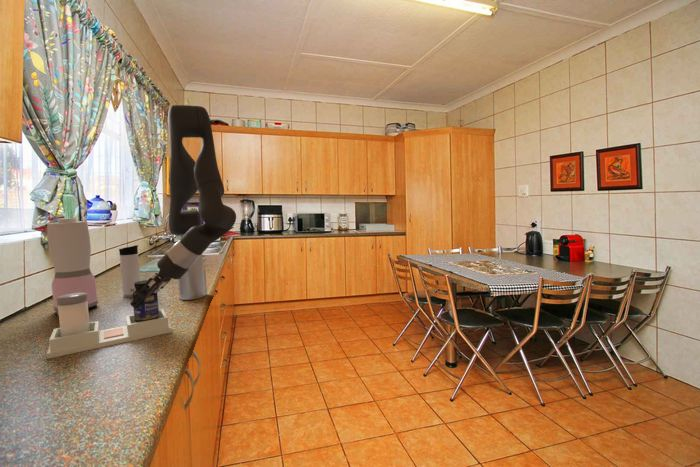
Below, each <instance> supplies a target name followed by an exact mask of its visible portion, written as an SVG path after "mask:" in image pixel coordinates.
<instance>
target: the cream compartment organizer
mask: <svg viewBox="0 0 700 467" xmlns="http://www.w3.org/2000/svg"><path fill="white" fill-rule="evenodd" d="M56 300H57V305H58V313H59V315H58V318H59V319H58V320H59V327H56V328H53V330H52V333H51V335H50V337H49V340H48V341H49V346H48V349H47V352H46V355H45V356H46V359H51V358H52V359H53V358H58V357H62V356H66V355H72V354H75V353H81V352H85V351H89V350H94V349H99V348H104V347H109V346H113V345H119V344H123V343H127V342H132V341H136V340H141V339H147V338H152V337H156V336H160V335H164V334H165V335H166V334H169V333H170V334H171V333H172V332H173V328H172V326H171V324H170V322H169V317H168V315H167V314H166V312H165V310H164V309H163V308H162V309H159V318H158V319H153V320H148V321H142V322H135V319H134V314H130V315H129V314H128V315H126V316H125V320H126V325H122V326H117V327H112V328H107V329H101V330H100V321H99V320H97V321H96V320H95V321H91V322H90V316H89V314H90V313H89V307H88V303H87V300H88V299H87V293H72V294H66V295H62V296H59V297H57V298H56Z"/></svg>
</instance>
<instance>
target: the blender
mask: <svg viewBox="0 0 700 467" xmlns="http://www.w3.org/2000/svg"><path fill="white" fill-rule="evenodd" d="M88 224H89V223H88V222H87V220H85V221H81V220H79V221H78V219H77V217H64V218H62V217H61V218H57V222H49V223H47V224H46V229H47V230H46V232H47V242H48V251H49V256H50V260H51V262H52V266H53V268H54V277H53V279H52V281H51V291H52V301H53V311H54V312H56V315H57V316H59V313H58V305H57V300H56V298H57V297H59V296H62V295H66V294H72V293H87V299H88V300H87V303H88V308H91V307H94V306H98V304H99V299H98V292H97V282H96V278H95V276H94V273H92V271H91V268H90V266H91V265H90V264H91V255H92V252H91V251H92V248H91V237H90V230H89V225H88Z"/></svg>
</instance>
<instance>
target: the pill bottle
mask: <svg viewBox="0 0 700 467" xmlns="http://www.w3.org/2000/svg"><path fill="white" fill-rule="evenodd" d="M147 281H148V279H145V280H144V279H143V280H141V281H138V282H135V283H134V287H135V288H136V291H134V292H133V294H132V297H131V298H132V301H133V300H134V299H135V298H136V297H137V295H138V294H137V292H138V291H139V290H140V289H141V288H142V287H143V286H144V284H145V283H146V282H147ZM154 289H155V288H154ZM144 292H145V293H146V294H147V292H146V291H144ZM132 307H133V306H132ZM159 310H160V309H159V299H158V292H156V293H152V294H151V295H150V296H149V297H148V298H147V299H146V300H145V301H144V302H143V303H142V304H141V305H140V306H139V307H138V308H134V307H133V315H134V319H135V322H142V321H148V320H153V319H158V318H159Z"/></svg>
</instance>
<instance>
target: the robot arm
mask: <svg viewBox="0 0 700 467" xmlns="http://www.w3.org/2000/svg"><path fill="white" fill-rule="evenodd" d="M167 115H168V116H167V119H168V120H167V122H168V135H169V150H170V151H169V152H170V156H169V194H170V197H169V198H170V199H169V211H168V212H169V214H168V228H169V232H170V233H171V234H172V235H174V236H182V237H180V239H179V240H178V241H176V242H175V243H174V244H173V245H172V246H171V247H170V248H169V249H168V250H167V251H166V252H165V253H164V254H163V255H162V256H161V258H160V259H159V260H158V261H157V263H156V265H157V268H158V270H159V271H158V272H155V273H154V274H152V276H151V277H149V278H148V279H147V280H148V281H147V282H146V283H145V284H144V286H143V287H142V288H141V289H140V290H139V291H138V292H137V294H138V295H137V297H136V298H135V299H134V300H133V299H132V300H131V301H130V304H129V305H130V306H131V307H134V308H138V307H139V306H140V305H141V304H142V303H143V302H144V301H145V300H146V299H147V298H148V297H149V296H150V295H151V294H152V293H156V292H157V293H159V292H160V291H161V290H163V289H165V287H166V286H167V285H168V284H169V283H170V282H172V280H177V287H178V298H179V300H182V301H183V300H184V301H187V300H188V301H189V300H196V299H200V298H204V297H205V296H206V295H207V294H208V288H207V287H208V286H207V276H206V275H207V274H206V270H205V269H204V259H203V253H204V252H205V251H206V250H207V249H208V248H209V246H210V245H212V244H213V243H214V242H216V241H218V240H219V239H220V238H221V237H223V236H224V235H225V234H227V233H228V232H229V231H230V230H231V229H232V228H233V227H234V225H235V223H236V221H237V214H236V212H235V210H234V209H233V208H232V207H230V206H228V205H226V204H224V203H223V200H222V197H223V196H224V195H225V186H224V184H223V179H222V177H221V174H220V169H219V166H218V162H217V154H216V149H215V148H216V147H215V141H214V134H213V129H212V124H211V119H210V115H209V112H208V110H207V109H206V108H205V107H204V106H201V105H187V104H184V105H183V104H181V105H180V104H175V105H174V104H173V105H170V107H169V109H168V114H167ZM184 138H185V139H186V138H200V139H201V148H200V151H199V153H198V156H197V158H196V160H195V159H193V157H192V156H191V155H190V153H189V152H188V151H187V149H186V147H185V146H184V143H183V139H184ZM197 192H198V209H199V210H197V209H183V208H184V206H185V205H186V204H187V203H189V201H190V200H191V199H192V198H193V197H194V196H195V194H196V193H197ZM202 221H203V224H202ZM154 288H155V289H154ZM144 291H146V292H147V294H146V293H145V292H144ZM134 308H133V309H134Z"/></svg>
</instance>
